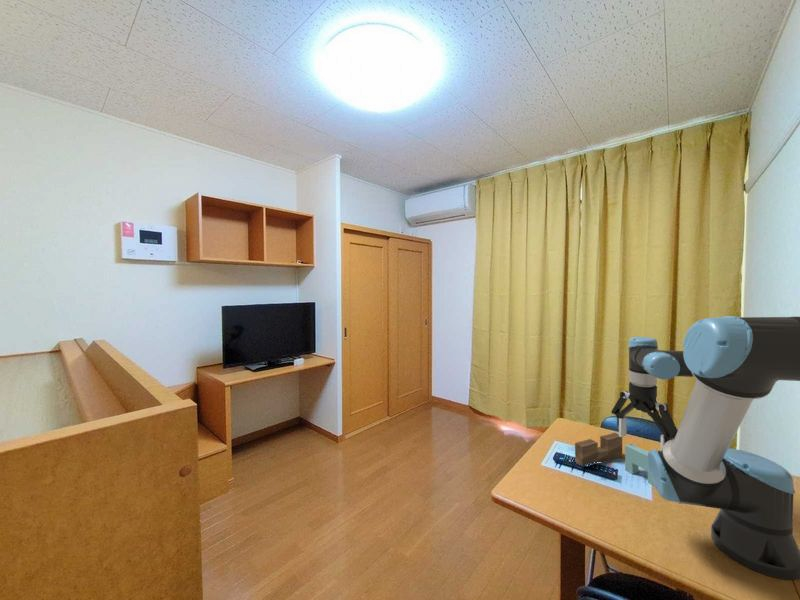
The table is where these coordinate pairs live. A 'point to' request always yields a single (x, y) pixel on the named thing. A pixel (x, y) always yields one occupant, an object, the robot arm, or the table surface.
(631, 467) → the light blue piece
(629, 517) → the table surface
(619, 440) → the walnut fin
